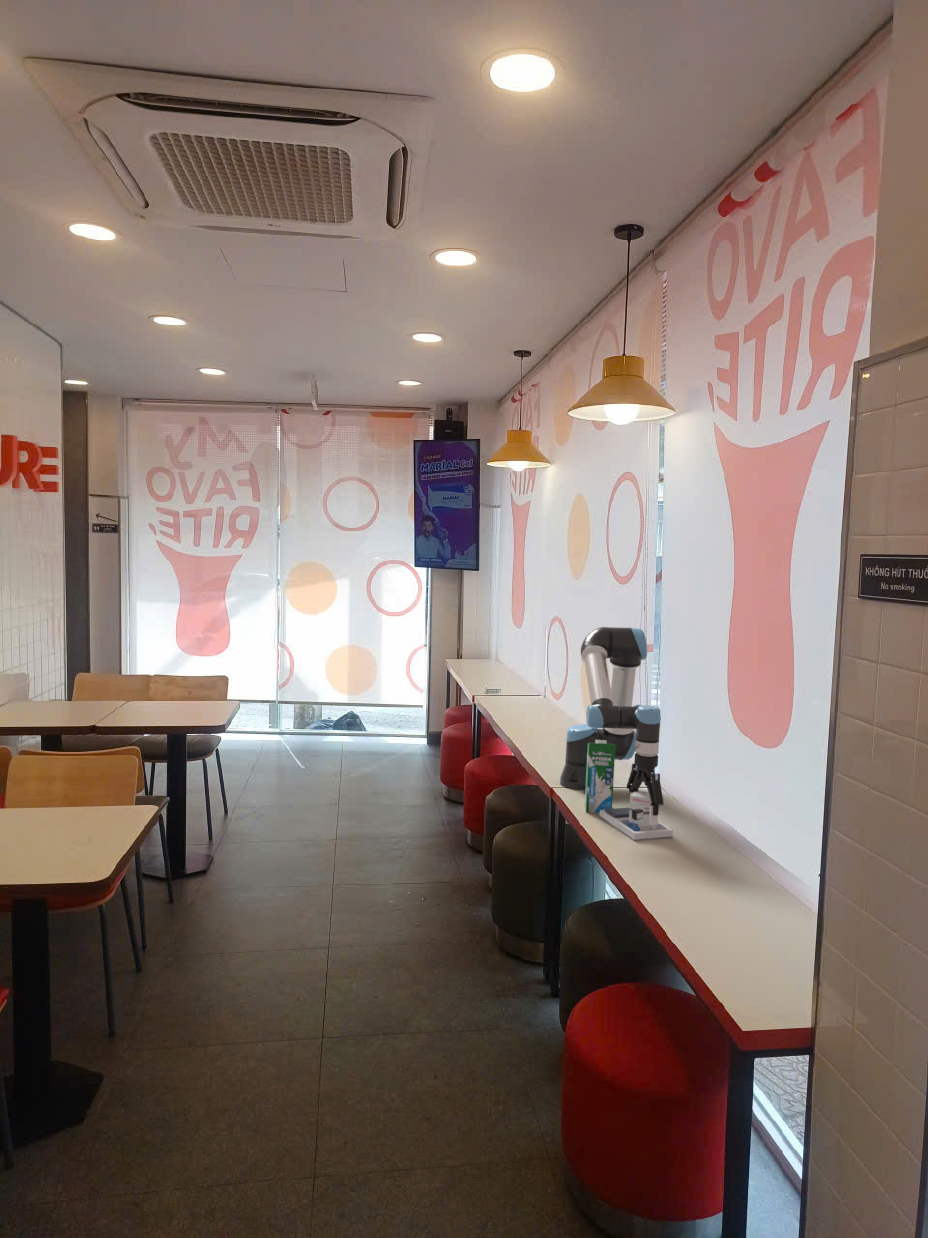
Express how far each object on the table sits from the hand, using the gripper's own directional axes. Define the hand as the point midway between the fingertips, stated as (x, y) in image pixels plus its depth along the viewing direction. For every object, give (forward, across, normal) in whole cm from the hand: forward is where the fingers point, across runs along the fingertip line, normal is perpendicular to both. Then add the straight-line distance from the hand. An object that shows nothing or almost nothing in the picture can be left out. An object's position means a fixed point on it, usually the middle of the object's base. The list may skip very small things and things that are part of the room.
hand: (643, 818), depth 271 cm
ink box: (+4, 0, 0) cm, 4 cm away
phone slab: (+2, -12, 0) cm, 12 cm away
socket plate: (+5, -5, 0) cm, 7 cm away
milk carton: (+5, -25, -4) cm, 26 cm away
